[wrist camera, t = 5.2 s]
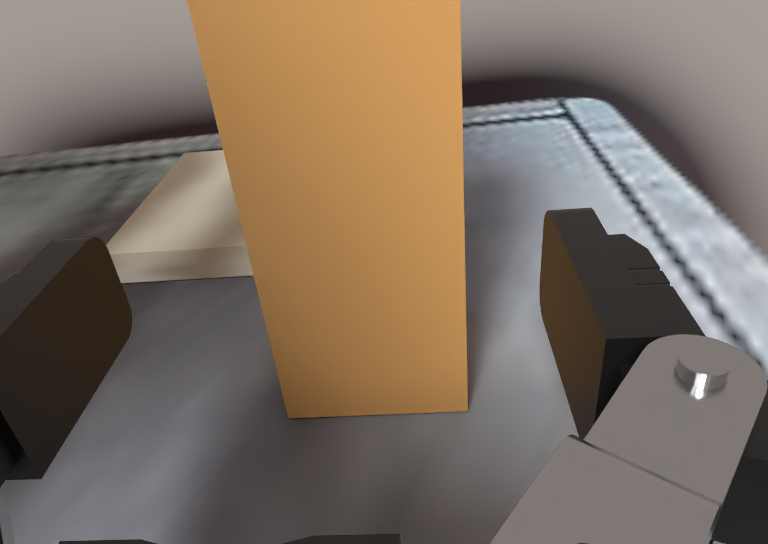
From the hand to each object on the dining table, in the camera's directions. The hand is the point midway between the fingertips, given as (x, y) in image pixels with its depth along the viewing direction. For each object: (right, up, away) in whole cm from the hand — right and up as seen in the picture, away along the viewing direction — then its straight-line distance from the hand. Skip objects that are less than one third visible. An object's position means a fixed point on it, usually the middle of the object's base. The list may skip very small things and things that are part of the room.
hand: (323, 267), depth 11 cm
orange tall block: (+1, -3, +10) cm, 10 cm away
